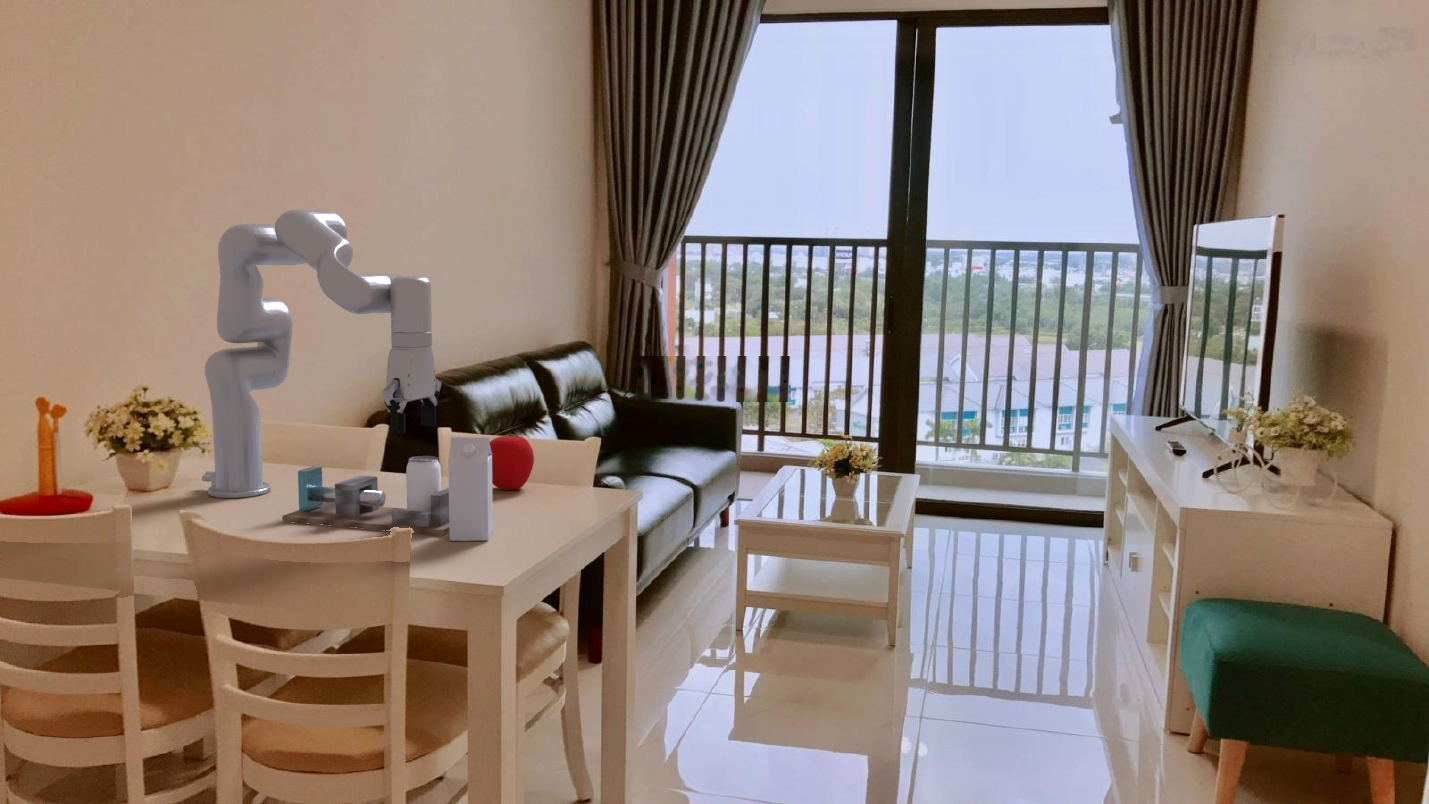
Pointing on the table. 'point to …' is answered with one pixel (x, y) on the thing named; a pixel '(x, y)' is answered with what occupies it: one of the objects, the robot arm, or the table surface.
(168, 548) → the table surface
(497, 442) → the tomato
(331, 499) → the shaft
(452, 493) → the milk carton
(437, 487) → the can
